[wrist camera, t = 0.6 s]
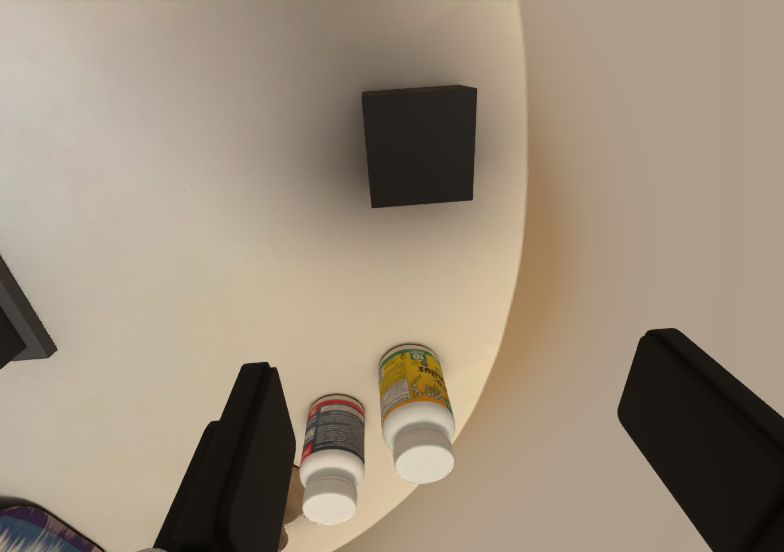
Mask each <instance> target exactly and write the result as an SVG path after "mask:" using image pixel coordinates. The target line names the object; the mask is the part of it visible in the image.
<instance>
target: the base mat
mask: <svg viewBox="0 0 784 552" xmlns="http://www.w3.org/2000/svg"><path fill="white" fill-rule="evenodd" d="M56 351H57V349H56V347H55V346H54V344H53V342H52V341H51V339H50V337H49V336H48V334H47V332H46V331H45V329H44V328H43V326H42V324H41V323H40V321H39V319H38V318H37V316H36V314H35V313H34V311H33V309H32V308H31V306H30V305H29V303H28V301H27V300H26V298H25V296H24V295H23V293H22V291H21V290H20V288H19V286H18V285H17V283H16V282H15V280H14V278H13V277H12V275H11V273H10V272H9V270H8V268H7V267H6V265H5V263H4V262H3V260H2V259H1V257H0V369H2V368H3V367H4V366H5V365H6V364H8V363H9V362H10V361H20V360H32V359H44V358H49V357H50V356H51V355H52V354H53V353H55V352H56Z"/></svg>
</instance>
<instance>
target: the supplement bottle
mask: <svg viewBox="0 0 784 552" xmlns="http://www.w3.org/2000/svg"><path fill="white" fill-rule="evenodd" d="M379 389H380V405H381V422H382V434H383V438H384V441H385V443H386V444H387V446H388V447H389V448H390V449H391V450H392V451H393V457H394V466H395V471H396V473H397V474H398V476H399V477H400V478H402V479H403V480H405V481H407V482H410V483H417V484H425V483H431V482H435V481H437V480H440V479H442V478H444V477H445V476H446V475H448V474H449V473H450V471H451V470H452V468H453V466H454V456H453V451H452V445H451V441H452V439H453V437H454V434H455V421H454V417H453V413H452V409H451V405H450V401H449V398H448V394H447V390H446V387H445V382H444V379H443V375H442V371H441V367H440V363H439V360H438V358H437V357H436V355H435V354H434V353H433V352H432V351H430V350H429V349H427V348H425V347H421V346H415V345H404V346H400V347H397V348H395V349H393V350H391V351H390V352H389V353H388V354H386V355H385V356H384V358H383V359H382V361H381V363H380V366H379Z"/></svg>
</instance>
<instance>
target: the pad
mask: <svg viewBox="0 0 784 552" xmlns="http://www.w3.org/2000/svg"><path fill="white" fill-rule="evenodd" d="M476 105H477V88H473V87H468V86H463V85H452V86H438V87H424V88H410V89H395V90H381V91H367V92H362V106H363V117H364V128H365V139H366V150H367V162H368V173H369V184H370V195H371V206H372V208H380V207H393V206H406V205H418V204H431V203H444V202H457V201H469V200H473V179H474V154H475V130H476Z"/></svg>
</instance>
